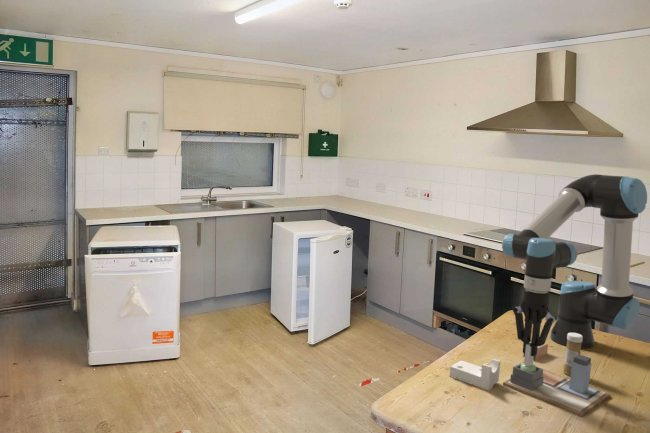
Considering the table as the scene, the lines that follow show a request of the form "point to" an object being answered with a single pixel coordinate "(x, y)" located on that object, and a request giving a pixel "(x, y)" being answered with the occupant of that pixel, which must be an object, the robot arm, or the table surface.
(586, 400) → the wood rimmed sorting board
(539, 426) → the table surface
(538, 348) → the terracotta marker
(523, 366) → the button
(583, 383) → the grey square prism
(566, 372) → the sprinkles bottle
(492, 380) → the bracket
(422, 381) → the table surface
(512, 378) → the button housing
